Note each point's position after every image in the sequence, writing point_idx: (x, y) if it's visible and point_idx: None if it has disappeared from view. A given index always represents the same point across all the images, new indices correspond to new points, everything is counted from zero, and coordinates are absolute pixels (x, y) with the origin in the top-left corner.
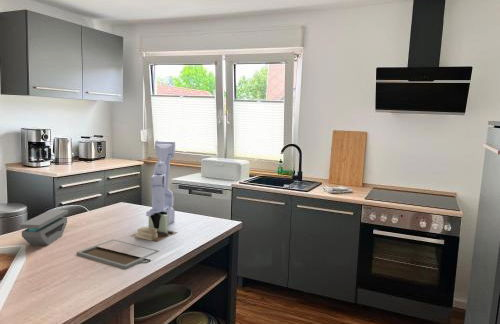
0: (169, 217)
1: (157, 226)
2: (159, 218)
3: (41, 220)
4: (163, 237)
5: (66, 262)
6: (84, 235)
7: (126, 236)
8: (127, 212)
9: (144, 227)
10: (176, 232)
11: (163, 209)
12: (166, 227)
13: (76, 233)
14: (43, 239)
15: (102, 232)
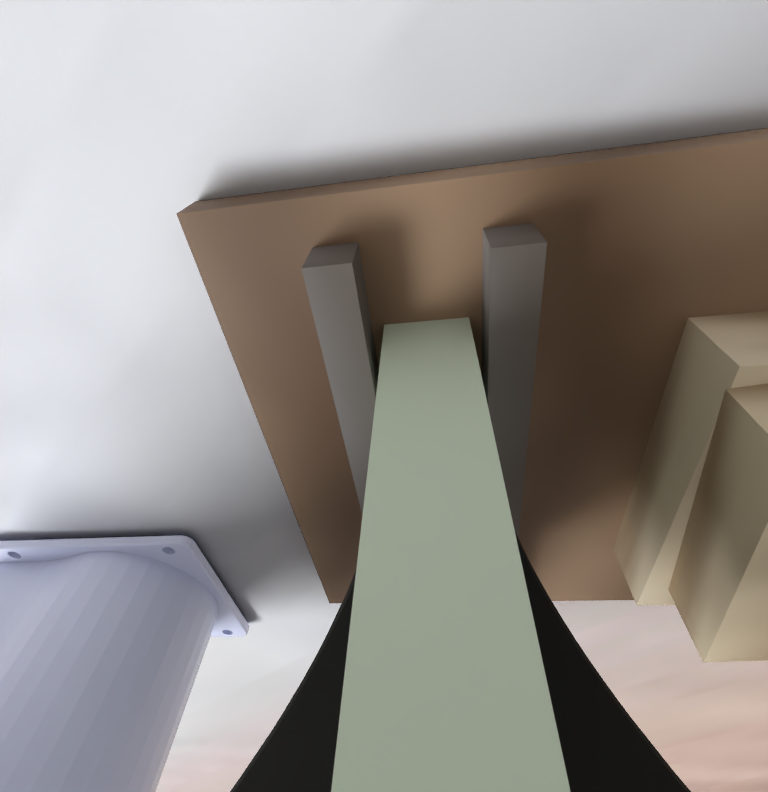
0: (28, 649)
1: (522, 551)
2: (581, 773)
3: None
4: (648, 220)
5: None
6: (747, 738)
7: (672, 606)
8: (219, 771)
9: (746, 635)
10: (208, 242)
11: None
12: (437, 408)
13: (717, 762)
14: None
15: (637, 717)
